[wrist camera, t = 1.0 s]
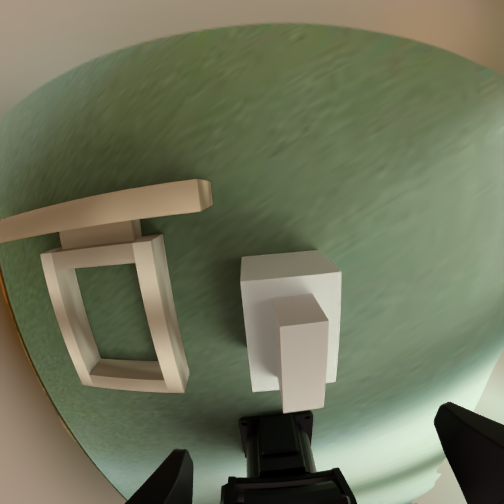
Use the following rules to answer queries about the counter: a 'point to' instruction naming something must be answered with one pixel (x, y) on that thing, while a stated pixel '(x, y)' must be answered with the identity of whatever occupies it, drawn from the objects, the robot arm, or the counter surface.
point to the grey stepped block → (292, 325)
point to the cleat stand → (113, 253)
